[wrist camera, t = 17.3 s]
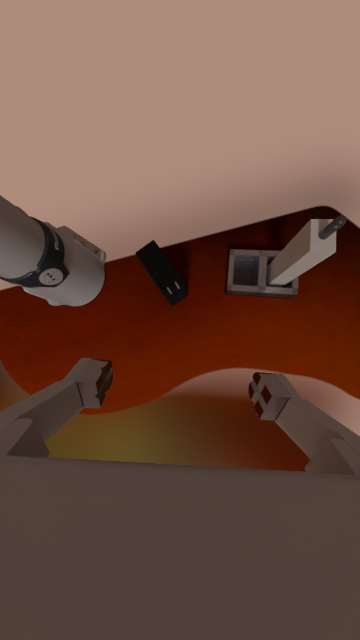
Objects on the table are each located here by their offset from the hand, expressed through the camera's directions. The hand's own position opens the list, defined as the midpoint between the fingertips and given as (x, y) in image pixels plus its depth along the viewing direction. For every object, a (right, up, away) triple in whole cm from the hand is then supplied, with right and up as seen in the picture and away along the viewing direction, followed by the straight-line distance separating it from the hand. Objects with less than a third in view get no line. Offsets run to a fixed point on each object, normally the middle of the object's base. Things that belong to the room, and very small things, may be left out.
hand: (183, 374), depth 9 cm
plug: (+20, +12, +25) cm, 35 cm away
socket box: (+17, +13, +26) cm, 34 cm away
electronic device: (-3, +11, +29) cm, 31 cm away
